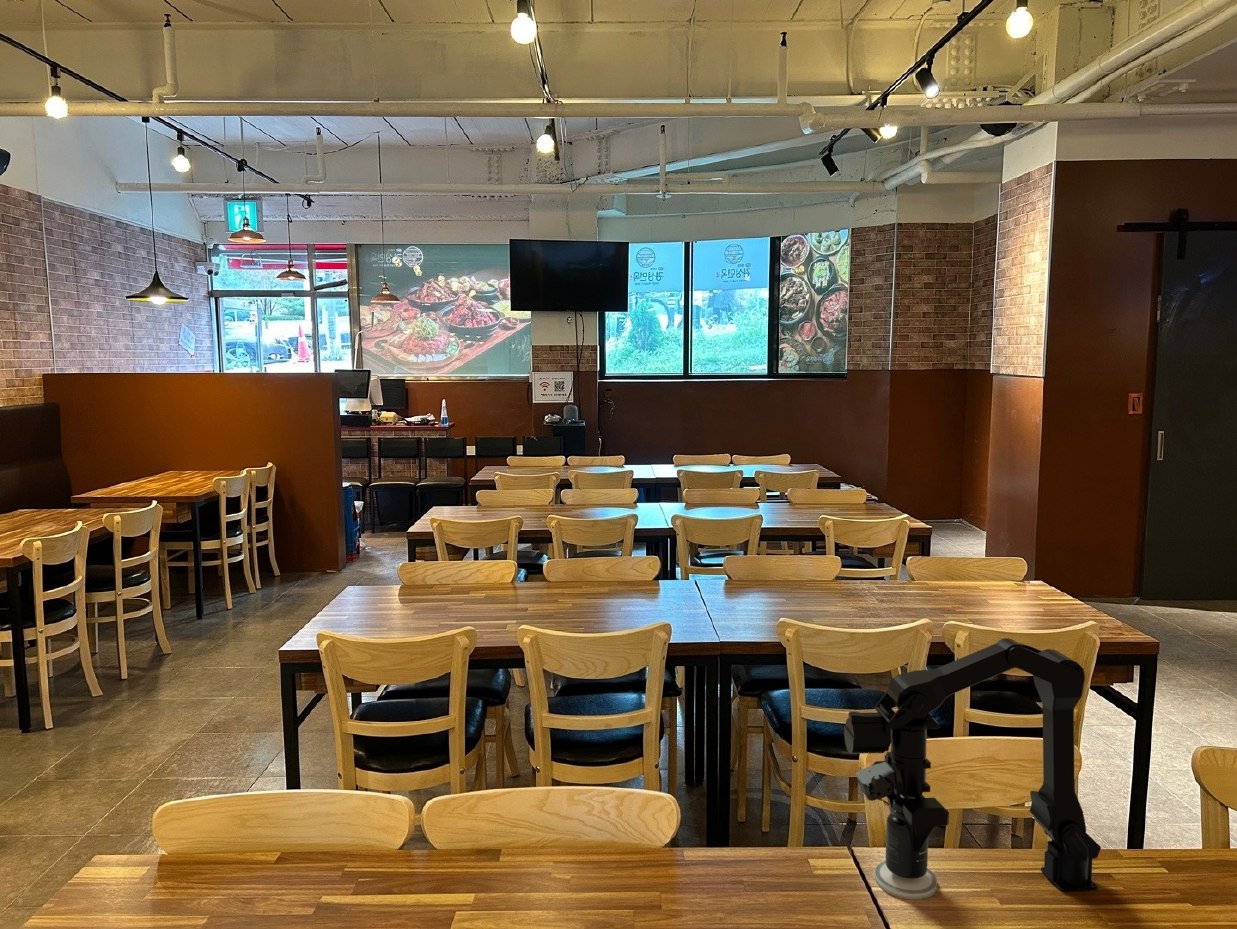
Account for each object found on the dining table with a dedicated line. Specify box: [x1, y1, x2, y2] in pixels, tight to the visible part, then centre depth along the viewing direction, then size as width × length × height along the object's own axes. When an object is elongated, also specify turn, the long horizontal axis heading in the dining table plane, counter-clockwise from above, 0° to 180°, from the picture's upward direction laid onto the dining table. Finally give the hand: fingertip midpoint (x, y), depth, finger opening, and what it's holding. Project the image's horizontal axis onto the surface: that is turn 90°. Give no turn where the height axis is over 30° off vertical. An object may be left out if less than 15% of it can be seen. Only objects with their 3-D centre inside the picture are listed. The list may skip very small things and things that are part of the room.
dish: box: [874, 860, 938, 901], centre depth 147 cm, size 10×10×1 cm
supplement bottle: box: [885, 796, 929, 879], centre depth 146 cm, size 7×7×12 cm
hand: (906, 839), depth 146 cm, fingers closed on supplement bottle, 7 cm apart
